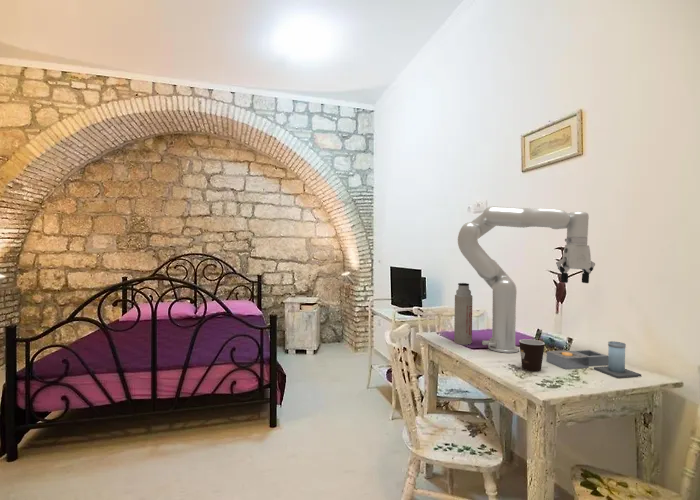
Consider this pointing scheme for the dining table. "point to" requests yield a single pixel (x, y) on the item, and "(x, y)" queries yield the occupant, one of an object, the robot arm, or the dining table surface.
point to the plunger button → (567, 353)
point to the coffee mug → (531, 354)
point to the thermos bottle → (463, 315)
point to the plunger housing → (567, 359)
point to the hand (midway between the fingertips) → (574, 282)
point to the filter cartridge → (616, 356)
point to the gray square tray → (594, 357)
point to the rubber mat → (617, 375)
